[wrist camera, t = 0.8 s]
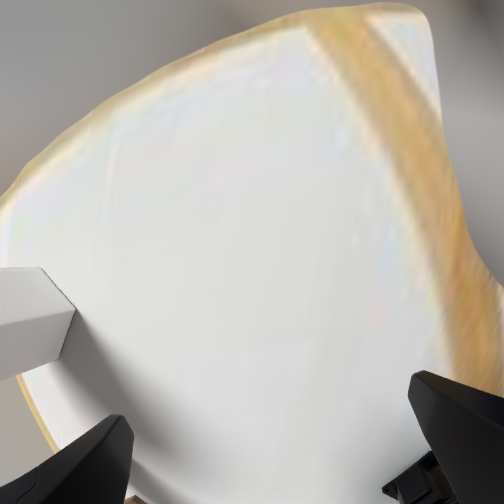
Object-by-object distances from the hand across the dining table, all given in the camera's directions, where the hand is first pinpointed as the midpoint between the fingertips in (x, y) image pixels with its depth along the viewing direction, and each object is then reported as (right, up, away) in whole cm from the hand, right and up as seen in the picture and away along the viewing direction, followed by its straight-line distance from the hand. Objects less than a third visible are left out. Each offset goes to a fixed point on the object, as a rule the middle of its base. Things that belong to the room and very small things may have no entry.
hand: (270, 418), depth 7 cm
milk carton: (-22, -2, +17) cm, 27 cm away
